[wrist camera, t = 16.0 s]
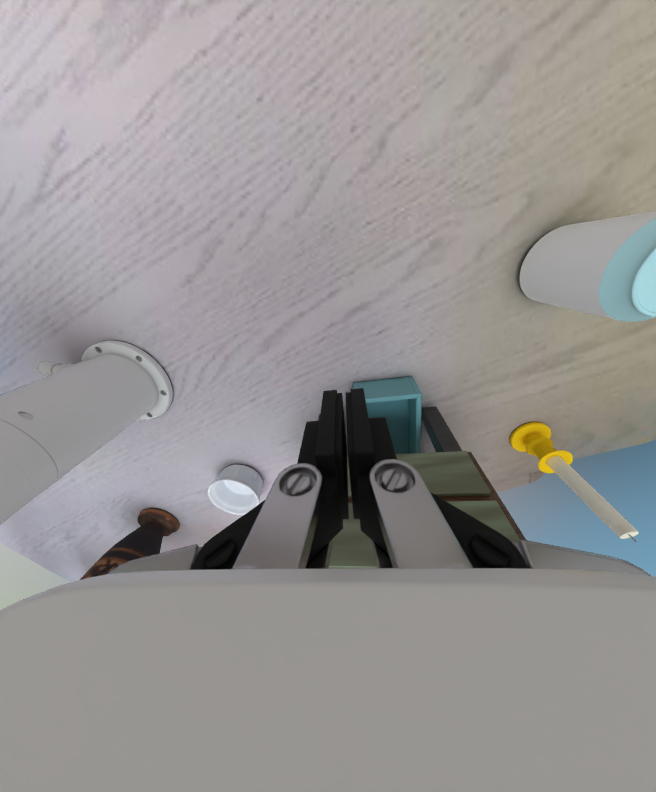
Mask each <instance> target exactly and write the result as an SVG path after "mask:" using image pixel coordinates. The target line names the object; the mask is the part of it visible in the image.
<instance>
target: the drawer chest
mask: <svg viewBox="0 0 656 792" xmlns="http://www.w3.org/2000/svg"><path fill="white" fill-rule="evenodd" d="M320 415H321V414H319V419H318V421H320ZM421 419H422V421H423V424H424V426H425V428H426V430H427V432H428V435H429V437H430V439H431V441H432V444H433V446H434V448H435V450H436V452H434V453H410V454H396V457H397V460H402V461H404V462H406V463H409V464H410V465H412V466H413V467H414V468H415V469H416V470H417V471H418V473H419V474H420V476H421V478H422V479H423V481H424V483H425V485H426V486H427V488H428V490H429V492H431V493H433V494H434V495H436V496H438V497H439V498H441V499H443V500H445V501H446V502H448V503H450V504H451V505H453V506H455V507H457V508H458V509H460V510H462V511H463V512H465V513H467V514H469V515H470V516H472V517H474V518H475V519H477V520H479V521H480V522H482V523H484V524H486V525H487V526H489V527H491V528H492V529H494V530H496V531H498V532H499V533H501V534H502V535H503V536H505V537H506V538H508V539H509V540H510V541H511V542H515V543H519V541H520V539H522V540H526V539H525V537H524V536H523V534H522V533H521V531H520V529H519V528H518V526H517V525H516V523H515V521H514V520H513V518H512V517H511V515H510V513H509V512H508V510H507V509H506V507H505V506H504V504H503V502H502V501H501V499H500V498H499V496H498V494H497V493H496V491H495V490H494V488H493V486H492V485H491V483H490V482H489V480H488V479H487V477H486V475H485V474H484V472H483V471H482V469H481V467H480V466H479V464H478V463H477V461H476V459H475V458H474V456H473V455H472V453H471V452H466V451H462V450H461V448H460V446H459V444H458V443H457V441H456V439H455V438H454V436H453V434H452V433H451V431H450V429H449V427H448V426H447V424H446V422H445V421H444V419H443V417H442V416H441V414H440V412H439V410H438V409H437V407H425V408H422V416H421ZM347 470H348V506H349V519H343V529H341V531H340V532H339V533H338V534H337V535H336V536H335V537H334V538H333V539H332V551H331V557H330V562H329V568H328V569H349V568H378V566H377V562H376V558H375V554H374V550H373V546H372V540H371V539H370V538H369V537H368V536H367V535H366V534H364V533H363V532H362V531H361V528H360V519H354V517H353V506H352V496H351V485H350V474H349V463H348V456H347Z"/></svg>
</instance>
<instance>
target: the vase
mask: <svg viewBox="0 0 656 792" xmlns="http://www.w3.org/2000/svg"><path fill="white" fill-rule="evenodd" d="M138 523H139V524H140V526H141V527H139V528H138V529H136V530H135V531H134V532H132V533H130V534H129V535H128V536H126V537H125V538H123V539H122V540H121V541H119V542H118V543H117V544H115V545H114V546H113V547H112V548H111V549H110V550H109V551H107V552H106V553H105V554H104V555H103V556H102V557H101V558H100V559H99V560H98V561H97V562H96V563H95V564H94V565H93V566H92V567H91V568H90V569H89V570H88V571H87V572H86V574H85V575H84V576H83V577H82V578H81V579H80V580H82V579H86V578H90V577H96V576H102V575H107V574H108V573H109V572H110V571H112V570H113V569H115V568H116V567H118V566H119V565H121V564H123V563H126V562H128V561H131V560H135V559H139V558H143V557H147V556H151V555H155V554H159V553H160V548H161V543H162V538H163V536H169V535H170V534H172V533H174V532H176V531H177V530H178V528H179V523H178V521H177V520H176V519H175V518H174V517H173V516H172V515H170V514H169V513H167V512H165V511H162V510H159V509H145V510H143V511H142V512H141V513H140V514H139V516H138Z"/></svg>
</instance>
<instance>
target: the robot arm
mask: <svg viewBox="0 0 656 792" xmlns="http://www.w3.org/2000/svg"><path fill="white" fill-rule="evenodd" d="M37 369H38V372H40V373H41V374H44V375H49V376H47V377H45V378H42V379H40V380H37V381H35V382H32V383H29V384H27V385H24V386H22V387H19V388H17V389H14V390H11V391H9V392H6V393H4V394H1V395H0V525H1V524H2V523H4V522H5V521H6V520H7V519H8V518H10V517H11V516H12V515H13V514H15V513H16V512H17V511H18V510H20V509H21V508H22V507H24V506H25V505H26V504H27V503H29V502H30V501H31V500H32V499H34V498H35V497H36V496H38V495H39V494H40V493H42V492H43V491H44V490H46V489H47V488H48V487H49V486H51V485H52V484H53V483H55V482H56V481H57V480H59V479H60V478H61V477H62V476H64V475H65V474H66V473H68V472H69V471H70V470H72V469H73V468H74V467H76V466H77V465H78V464H80V463H81V462H82V461H84V460H85V459H86V458H87V457H89V456H90V455H91V454H93V453H94V452H95V451H97V450H98V449H99V448H101V447H102V446H103V445H105V444H106V443H107V442H109V441H110V440H111V439H112V438H114V437H115V436H116V435H118V434H119V433H120V432H122V431H123V430H124V429H126V428H127V427H128V426H130V425H131V424H132V423H134V422H135V421H136V420H137V419H139V420H149V419H154V418H157V417H159V416H161V415H162V414H163V413H164V412H166V411H167V409H168V408H169V407H170V405H171V403H172V398H173V390H172V386H171V382H170V380H169V378H168V376H167V374H166V373H165V371H164V370H163V368H162V367H161V366H160V365H159V364H158V363H157V362H156V360H154V359H153V358H152V357H151V356H150V355H148V354H147V353H146V352H144V351H143V350H141V349H139V348H137V347H135V346H133V345H131V344H128V343H125V342H121V341H113V340H112V341H103V342H100V343H96V344H94V345H92V346H90V347H89V348H88V349H87V350H86V351H85V352H84V354H83V356H82V360H81V362H80V363H77V364H66V365H62V364H60V363H55V362H50V361H43V362H41V363H40V364H39V365H38V367H37ZM346 415H347V443H346V432H345V421H344V411H343V400H342V393H337V390H331V391H324V393H323V400H322V407H321V415H320V421H311V422H307V423H306V427H305V431H304V436H303V440H302V445H301V449H300V454H299V459H298V463H297V464H295V465H291V466H289V467H287V468H285V469H284V470H283V471H282V472H280V473H279V475H278V476H277V478H276V479H275V481H274V483H273V485H272V488H271V490H270V492H269V494H268V496H267V498H266V500H264V501H263V502H262V503H260V504H259V505H257V506H256V507H255V508H253V509H252V510H250V511H249V512H248V513H246V514H245V515H243V516H242V517H241V518H239V519H238V520H236V521H235V522H234V523H232V524H231V525H229V526H228V527H226V528H225V529H224V530H222V531H221V532H219V533H218V534H217V535H215V536H214V537H212V538H211V539H210V540H209V541H208V542H207V543H206V544H204V546H203V547H198V545H197V544H195V545H191V546H187V547H183V548H179V549H175V550H171V551H167V552H163V553H159V554H155V555H151V556H147V557H143V558H139V559H135V560H131V561H128V562H126V563H123V564H121V565H119V566H118V567H116V568H115V569H113V570H112V571H110V572H109V573H108V574H107V575H102V576H96V577H90V578H86V579H82V580H78V581H75V582H71V583H67V584H64V585H60V586H57V587H54V588H52V589H49V590H47V591H44V592H41V593H39V594H36V595H33V596H31V597H28V598H26V599H23V600H21V601H19V602H17V603H14V604H12V605H10V606H8V607H6V608H4V609H3V610H1V611H0V792H656V577H653V576H651V575H649V574H648V573H647V572H645V571H644V570H643V569H641V568H639V567H637V566H635V565H633V564H631V563H629V562H627V561H625V560H622V559H618V558H615V557H611V556H607V555H601V554H596V553H591V552H585V551H580V550H575V549H569V548H564V547H559V546H554V545H548V544H543V543H538V542H532V541H527V540H522V539H520V541H519V543H515V542H511V541H510V540H509V539H508V538H506V537H505V536H503V535H502V534H501V533H499V532H498V531H496V530H494V529H492V528H491V527H489V526H487V525H486V524H484V523H482V522H480V521H479V520H477V519H475V518H474V517H472V516H470V515H469V514H467V513H465V512H463V511H462V510H460V509H458V508H457V507H455V506H453V505H451V504H450V503H448V502H446V501H445V500H443V499H441V498H439V497H438V496H436V495H434V494H433V493H431V492H429V490H428V488H427V486H426V485H425V483H424V481H423V479H422V478H421V476H420V474H419V473H418V471H417V470H416V469H415V468H414V467H413V466H412V465H410V464H409V463H406V462H404V461H402V460H397V457H396V454H395V450H394V447H393V443H392V439H391V436H390V432H389V429H388V425H387V422H386V418H385V417H375V418H369V417H368V412H367V406H366V400H365V394H364V389H363V388H358V389H351V392H349V393H346ZM347 447H348V463H349V474H350V485H351V496H352V506H353V517H354V519H360V528H361V531H362V532H363V533H364V534H366V535H367V536H368V537H369V538H370V539H371V540H372V546H373V550H374V554H375V558H376V562H377V566H378V568H349V569H328V568H329V562H330V557H331V551H332V539H333V538H334V537H335V536H336V535H337V534H338V533H339V532H340V531H341V529H343V519H349V506H348V470H347Z"/></svg>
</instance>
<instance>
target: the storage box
mask: <svg viewBox="0 0 656 792" xmlns="http://www.w3.org/2000/svg"><path fill="white" fill-rule="evenodd" d="M358 388H363V389H364V394H365V400H366V406H367V412H368V417H369V418H375V417H385V418H386V422H387V425H388V429H389V432H390V436H391V439H392V443H393V447H394V450H395V454H410V453H420V442H421V400H422V393H421V392H420V390H419V388H418V386H417V384H416V382H415V380H414V379H413V377H412V376H407V377H398V378H389V379H380V380H371V381H362V382H353V389H358Z"/></svg>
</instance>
